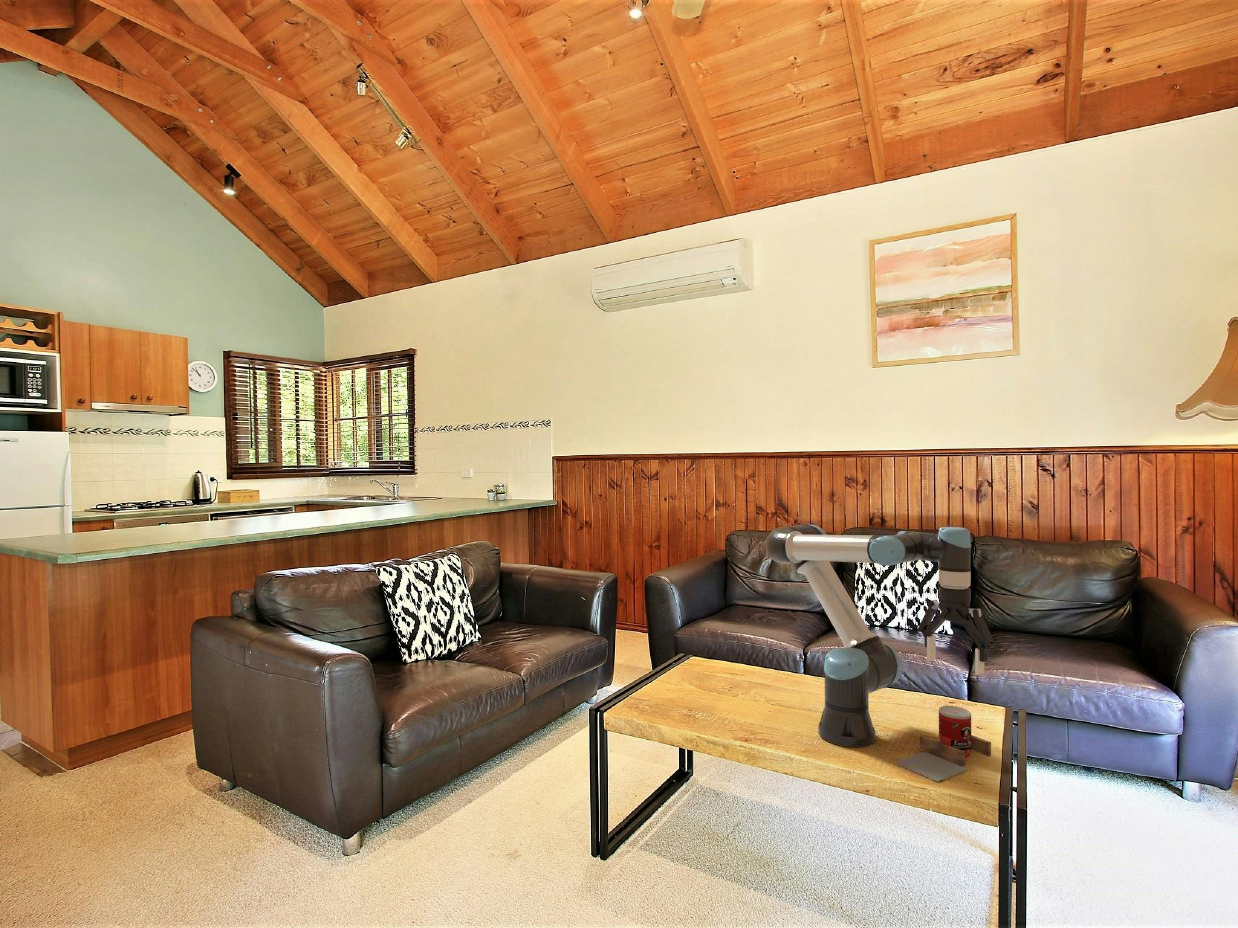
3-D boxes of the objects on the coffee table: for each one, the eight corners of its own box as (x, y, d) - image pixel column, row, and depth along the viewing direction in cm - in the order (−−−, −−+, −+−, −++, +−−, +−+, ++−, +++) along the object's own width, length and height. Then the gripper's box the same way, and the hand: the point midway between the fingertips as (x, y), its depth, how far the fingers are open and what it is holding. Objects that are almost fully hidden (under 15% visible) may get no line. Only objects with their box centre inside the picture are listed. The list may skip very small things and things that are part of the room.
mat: (894, 763, 172) (894, 761, 172) (924, 752, 178) (924, 751, 178) (937, 782, 162) (937, 780, 162) (967, 770, 168) (967, 768, 168)
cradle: (919, 749, 180) (919, 736, 180) (948, 739, 186) (948, 726, 186) (962, 766, 170) (962, 752, 170) (991, 755, 176) (991, 741, 176)
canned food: (954, 760, 173) (954, 717, 173) (932, 747, 181) (931, 706, 181) (978, 756, 175) (978, 714, 175) (955, 744, 183) (955, 704, 183)
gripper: (1010, 592, 169) (1010, 677, 169) (921, 577, 191) (921, 652, 191) (993, 595, 165) (993, 682, 166) (904, 580, 187) (904, 656, 187)
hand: (954, 666), depth 178 cm, fingers open, 13 cm apart
